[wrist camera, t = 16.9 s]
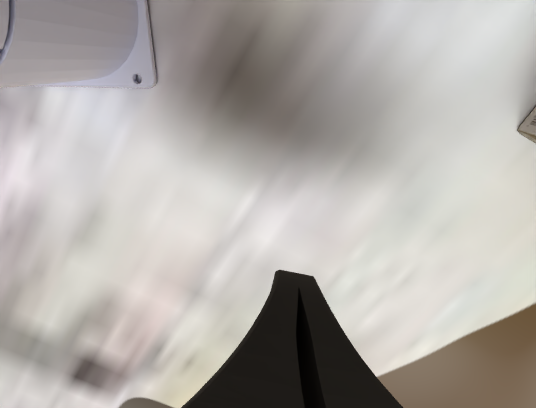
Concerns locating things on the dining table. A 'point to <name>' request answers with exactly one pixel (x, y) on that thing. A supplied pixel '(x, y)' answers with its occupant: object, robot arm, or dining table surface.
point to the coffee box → (529, 127)
